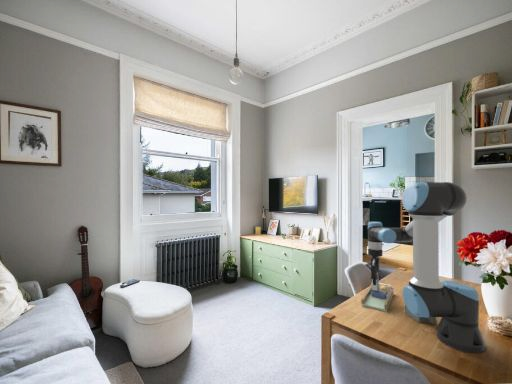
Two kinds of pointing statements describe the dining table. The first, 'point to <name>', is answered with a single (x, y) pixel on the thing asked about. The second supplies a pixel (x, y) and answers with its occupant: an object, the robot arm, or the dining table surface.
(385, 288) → the ball
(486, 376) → the dining table surface
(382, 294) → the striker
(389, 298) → the pitch
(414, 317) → the digital clock
